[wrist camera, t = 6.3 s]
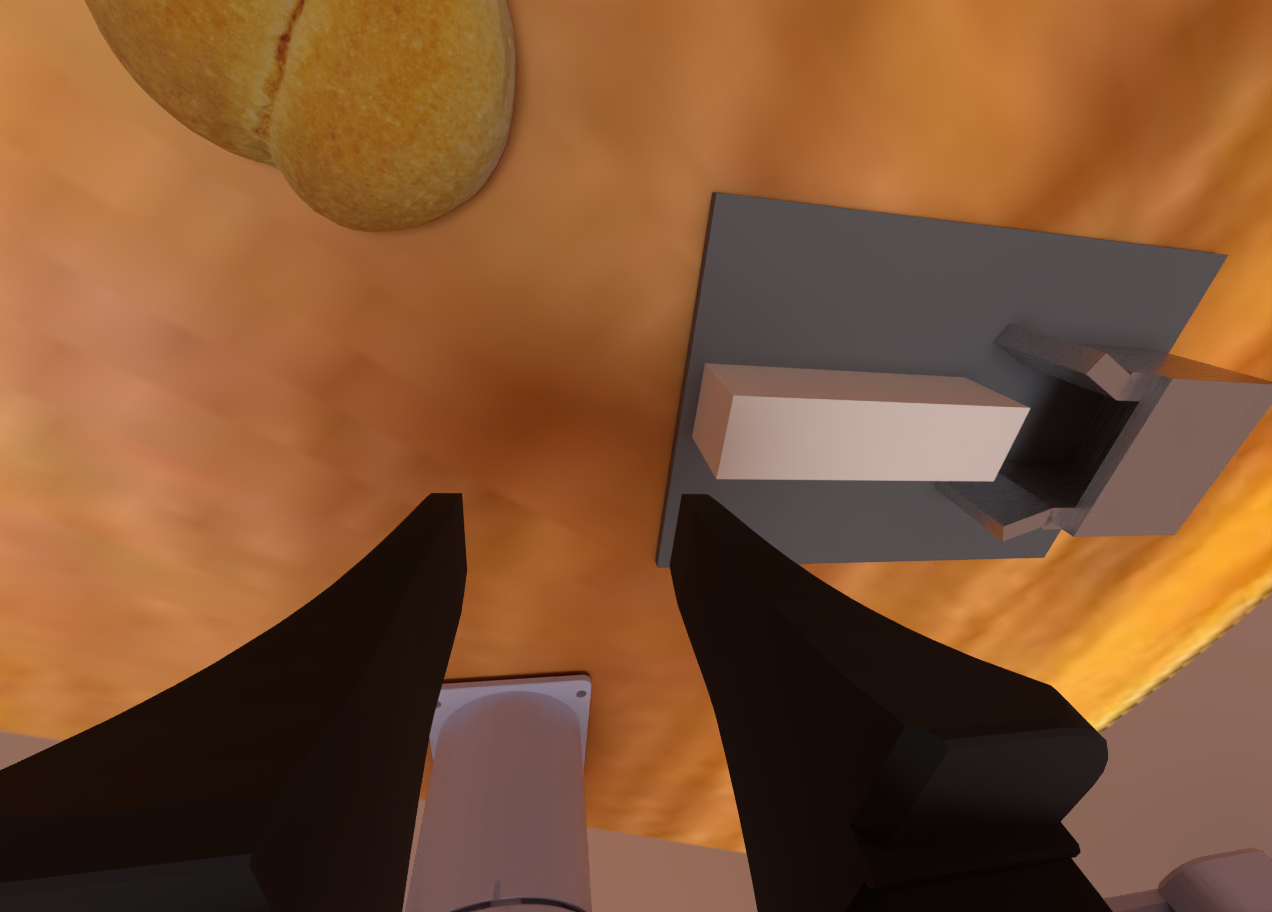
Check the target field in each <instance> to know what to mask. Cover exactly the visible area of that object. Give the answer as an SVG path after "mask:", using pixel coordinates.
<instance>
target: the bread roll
mask: <svg viewBox="0 0 1272 912" xmlns="http://www.w3.org/2000/svg"><path fill="white" fill-rule="evenodd" d="M85 2H86V4H87V6H88V8H89V10H90V12H91V14H92V16H93V18H94V20H95V22H96V24H97V26H98V28H99V30H100V31H101V33H102V35H103V37H104V39H105V40H106V42H107V43H108V45H109V46H110V48H111V50H112V51H113V53H114V54H115V55H116V57H117V58H118V59H119V61H120V62H121V63H122V65H123V66H124V67H125V69H126V70H127V71H128V72H129V74H130V75H131V76H132V77H133V78H134V80H135V81H136V82H137V83H138V84H139V85H140V86H141V88H142V89H143V90H144V91H145V92H146V93H147V94H148V95H149V96H150V97H151V98H153V99H154V100H155V101H156V102H157V103H158V104H159V105H160V106H161V107H162V108H163V109H165V110H166V111H167V112H168V113H169V114H171V115H172V116H173V117H174V118H176V119H177V120H178V121H179V122H181V123H182V124H183V125H185V126H186V127H187V128H189V129H190V130H191V131H193V132H195V133H196V134H198V135H200V136H202V137H203V138H205V139H207V140H209V141H210V142H212V143H214V144H216V145H218V146H219V147H221V148H223V149H225V150H227V151H229V152H231V153H234V154H237V155H239V156H242V157H245V158H248V159H251V160H254V161H257V162H262V163H267V164H270V165H272V166H274V167H276V168H277V169H279V170H281V171H282V173H283V174H284V176H285V178H286V180H287V182H288V183H289V185H290V186H291V187H292V189H293V190H294V191H295V192H296V194H297V195H298V196H299V197H300V198H301V199H302V200H303V201H304V202H305V203H307V204H308V205H309V206H310V207H311V208H312V209H313V210H314V211H315V212H317V213H319V214H320V215H322V216H324V217H326V218H328V219H329V220H331V221H333V222H335V223H336V224H338V225H341V226H344V227H347V228H350V229H354V230H361V231H367V232H379V231H388V230H397V229H405V228H409V227H414V226H418V225H421V224H424V223H427V222H429V221H432V220H434V219H436V218H438V217H440V216H442V215H444V214H446V213H447V212H449V211H451V210H452V209H454V208H456V207H457V206H459V205H461V204H462V203H464V202H465V201H467V200H468V199H470V198H471V197H472V196H474V195H475V194H476V193H477V192H478V191H479V190H480V188H481V187H482V186H483V185H484V184H485V183H486V182H487V180H488V178H489V176H490V174H491V172H492V171H493V170H494V168H495V167H496V166H497V164H498V161H499V159H500V157H501V155H502V152H503V150H504V148H505V146H506V143H507V139H508V135H509V131H510V127H511V120H512V115H513V105H514V92H515V71H516V45H515V37H514V30H513V25H512V20H511V15H510V9H509V4H508V0H85Z"/></svg>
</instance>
